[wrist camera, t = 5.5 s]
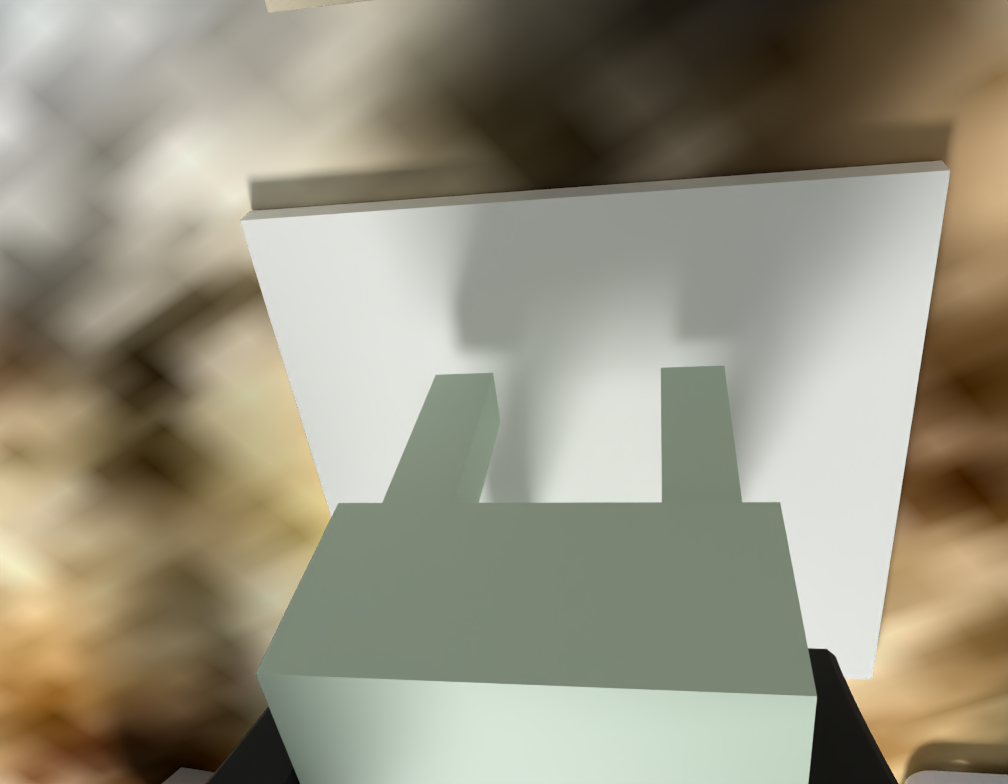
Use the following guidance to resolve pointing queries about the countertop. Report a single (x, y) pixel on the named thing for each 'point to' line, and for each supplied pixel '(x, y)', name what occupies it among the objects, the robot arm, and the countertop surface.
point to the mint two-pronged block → (548, 621)
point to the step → (302, 4)
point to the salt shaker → (189, 776)
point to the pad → (632, 345)
